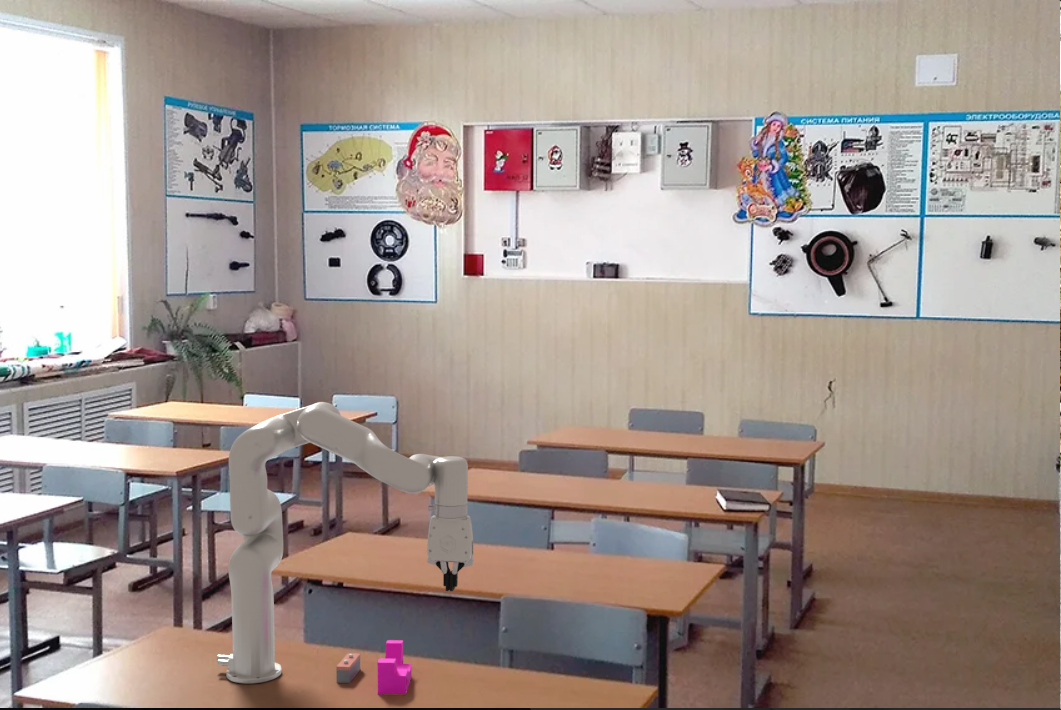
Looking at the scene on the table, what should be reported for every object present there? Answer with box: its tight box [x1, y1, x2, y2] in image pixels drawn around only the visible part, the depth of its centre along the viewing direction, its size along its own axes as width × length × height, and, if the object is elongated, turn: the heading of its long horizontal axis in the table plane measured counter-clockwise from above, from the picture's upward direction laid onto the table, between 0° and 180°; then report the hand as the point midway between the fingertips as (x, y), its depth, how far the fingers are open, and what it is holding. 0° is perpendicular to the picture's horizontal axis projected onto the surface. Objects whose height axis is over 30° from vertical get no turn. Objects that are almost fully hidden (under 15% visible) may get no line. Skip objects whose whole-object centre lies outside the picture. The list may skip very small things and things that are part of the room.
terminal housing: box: [335, 652, 361, 684], centre depth 270 cm, size 3×9×4 cm, turn 172°
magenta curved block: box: [377, 639, 412, 695], centre depth 266 cm, size 15×6×8 cm, turn 179°
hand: (450, 589), depth 266 cm, fingers closed
